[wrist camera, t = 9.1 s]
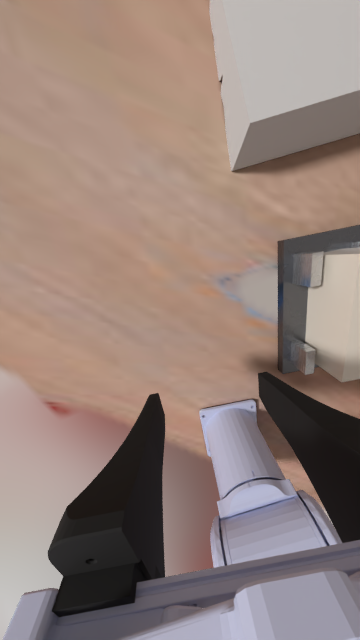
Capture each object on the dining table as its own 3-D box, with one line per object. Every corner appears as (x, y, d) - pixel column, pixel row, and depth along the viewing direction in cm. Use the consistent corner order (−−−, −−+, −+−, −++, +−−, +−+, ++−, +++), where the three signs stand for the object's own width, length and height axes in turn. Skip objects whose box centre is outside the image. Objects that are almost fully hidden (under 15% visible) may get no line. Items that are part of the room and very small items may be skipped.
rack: (344, 356, 24) (372, 372, 20) (278, 369, 24) (295, 387, 20) (363, 224, 18) (406, 216, 15) (277, 241, 18) (302, 237, 15)
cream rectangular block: (332, 350, 22) (376, 375, 17) (304, 355, 22) (341, 382, 17) (343, 248, 18) (406, 244, 13) (309, 255, 18) (360, 253, 13)
